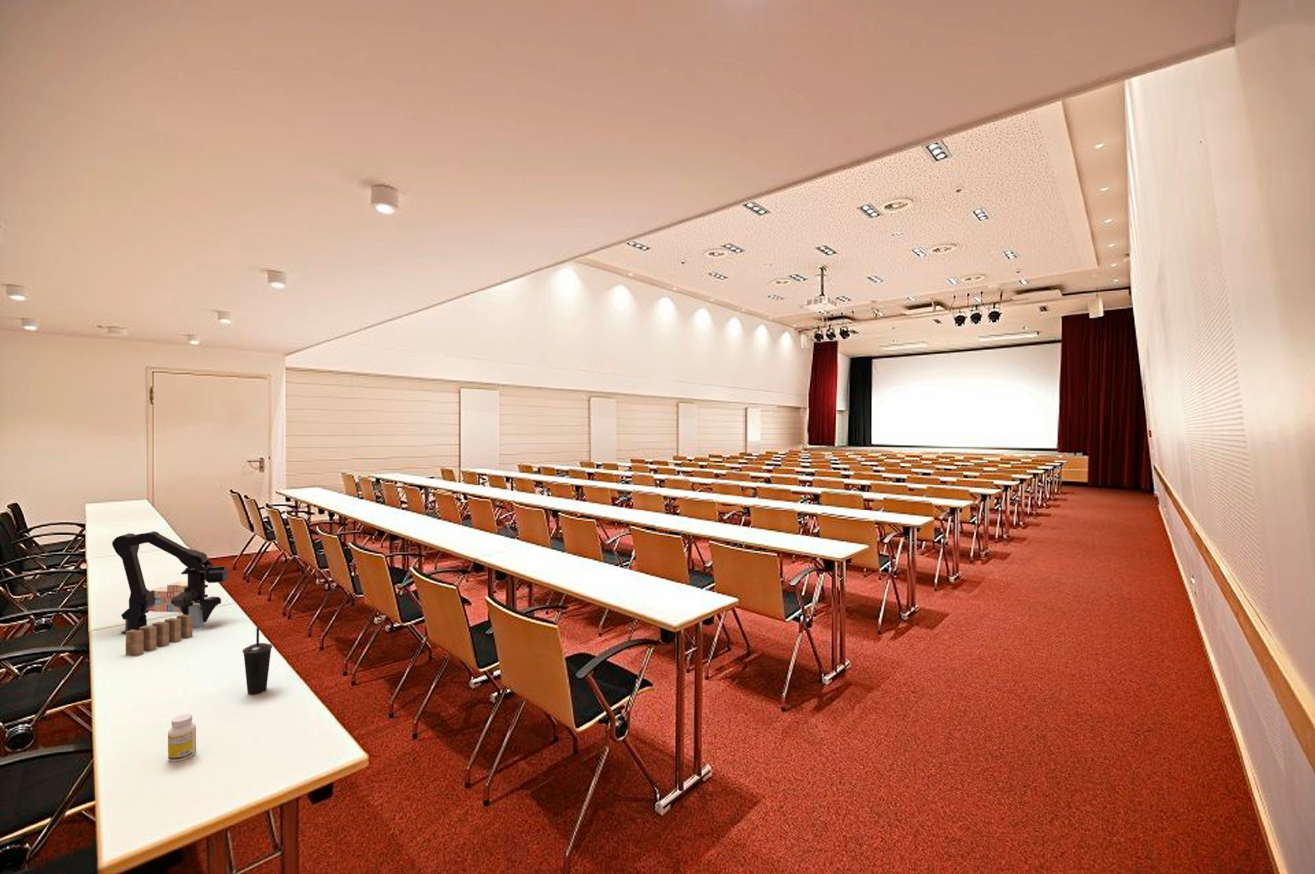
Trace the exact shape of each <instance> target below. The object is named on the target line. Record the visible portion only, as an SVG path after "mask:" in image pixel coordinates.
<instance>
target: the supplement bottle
mask: <svg viewBox="0 0 1315 874" xmlns="http://www.w3.org/2000/svg"><path fill="white" fill-rule="evenodd" d="M170 725H171V727H170V728H169V729H168V732H167V751H168V752H167V759H168V761H169V762H173V763H176V762H181V761H185V760H187V759H190V758H191V757H193V756H194V755H195V754H196V753H197V726H196V724H195V723H194V722H193V715H192V713H184V714H180V715H177V716H175V717H173V718H172V719H171V724H170Z"/></svg>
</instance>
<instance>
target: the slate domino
mask: <svg viewBox="0 0 1315 874" xmlns="http://www.w3.org/2000/svg"><path fill="white" fill-rule="evenodd" d="M199 607H201V606H200V605H192V606H189V615H193V628H194V629H195V628H196V629H198V628H202V627H204V626H205V625H204V624H205V622H203V616H202V610H201V609H200V608H199Z"/></svg>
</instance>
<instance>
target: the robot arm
mask: <svg viewBox="0 0 1315 874" xmlns="http://www.w3.org/2000/svg"><path fill="white" fill-rule="evenodd" d="M111 544H112V548H113V549H114V552H115V553H116V554H117V555H118V556H119V557H120V559H121V560H122V564H123V565H122V566H123V568H124V572H125V576H126V579H127V583H128V587H129V591H130V594H129V598H128V608H127V609H126V610H125V611H124V612H123V613H122V614H121V618H122V620H124V621H125V627H124V628H125V630H122V631H121V634H126V631H130V630H139V627H143V626H148V621H147V615H146V614H147V613H150V611H149V610H150V608H152V607H153V605H154V604H155V600H156V598H155V596H154V591H150V589H147V587H146V583H145V579H144V576H143V571H142V568H141V567H142V566H141V563H140V559H139V556H138V553H139V549H140V545H143V544H151V545H152V546H155V547H157V549H160V550H162V551H164V552H166V553H167V554H170V555H172V556H174V557H176V558H177V559H178V560H179V561H180V563H181V564H182V565H184V566H185V569H184V570H183V571H181V572H180V574H181V575H187V582H188V586H187V587H185V589H184V592H183V593H181V594H179V595H178V596H176V597H173V599H172V600H171V604H173V605H174V606H175V607H178V608H180V609H181V611H182V612H181V613H182V614H183V615H189V606H192V605H193V603H200V606H201V607H199V608H200V609H201V610H202V616H203V622H204V623H207V621H209V618H210V616H211V614H212V613H213V611H214V609H215V608H216V606H218V605H220V604H222V598H220V596H210V597H209V596H208V594H206V588H208V587H209V585H208V584H214V583H217V584H218V583H226V582H227V581H228V578H229V571H228V568H227V566H226V565H220V566H219V565H218V566H214V564H213V563H212V562H211V561H210V560H209V559H208V555H207V554H206V553H205V552H201V551H199V550H196V549H191V548H187V547H185V546H183V545H182V544H179V543H177V542H175V541H173V540H172V539H169V538H167V537H166V536H164V535H162V534H160V533H159V532H158V531H154V530H153V531H150V532H144V533H138V534H134V533H126V534H125V533H124V534H122V535H120V536H117V537H115V538H114V539H113V540H112V542H111ZM206 583H208V584H206ZM198 600H199V601H198Z"/></svg>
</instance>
